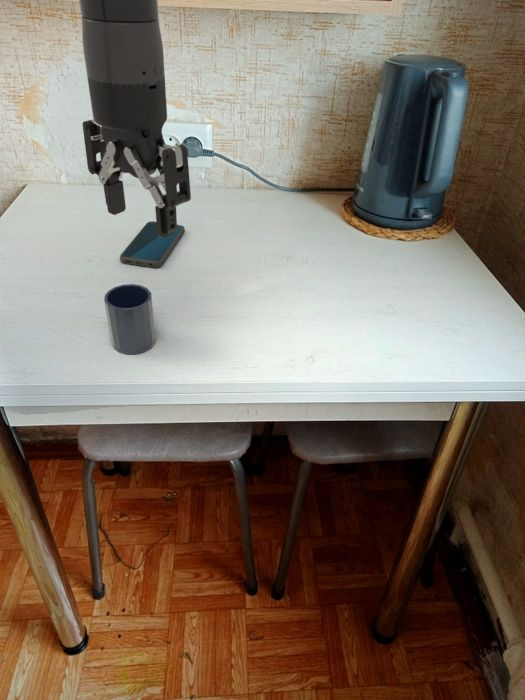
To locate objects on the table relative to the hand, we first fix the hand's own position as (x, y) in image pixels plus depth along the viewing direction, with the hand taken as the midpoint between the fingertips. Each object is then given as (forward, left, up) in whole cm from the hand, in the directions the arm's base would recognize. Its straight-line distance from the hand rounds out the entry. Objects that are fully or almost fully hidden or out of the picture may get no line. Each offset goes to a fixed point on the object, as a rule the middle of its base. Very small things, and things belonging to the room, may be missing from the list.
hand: (141, 223), depth 61 cm
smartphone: (+12, +25, -18) cm, 33 cm away
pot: (-2, +1, -18) cm, 18 cm away
